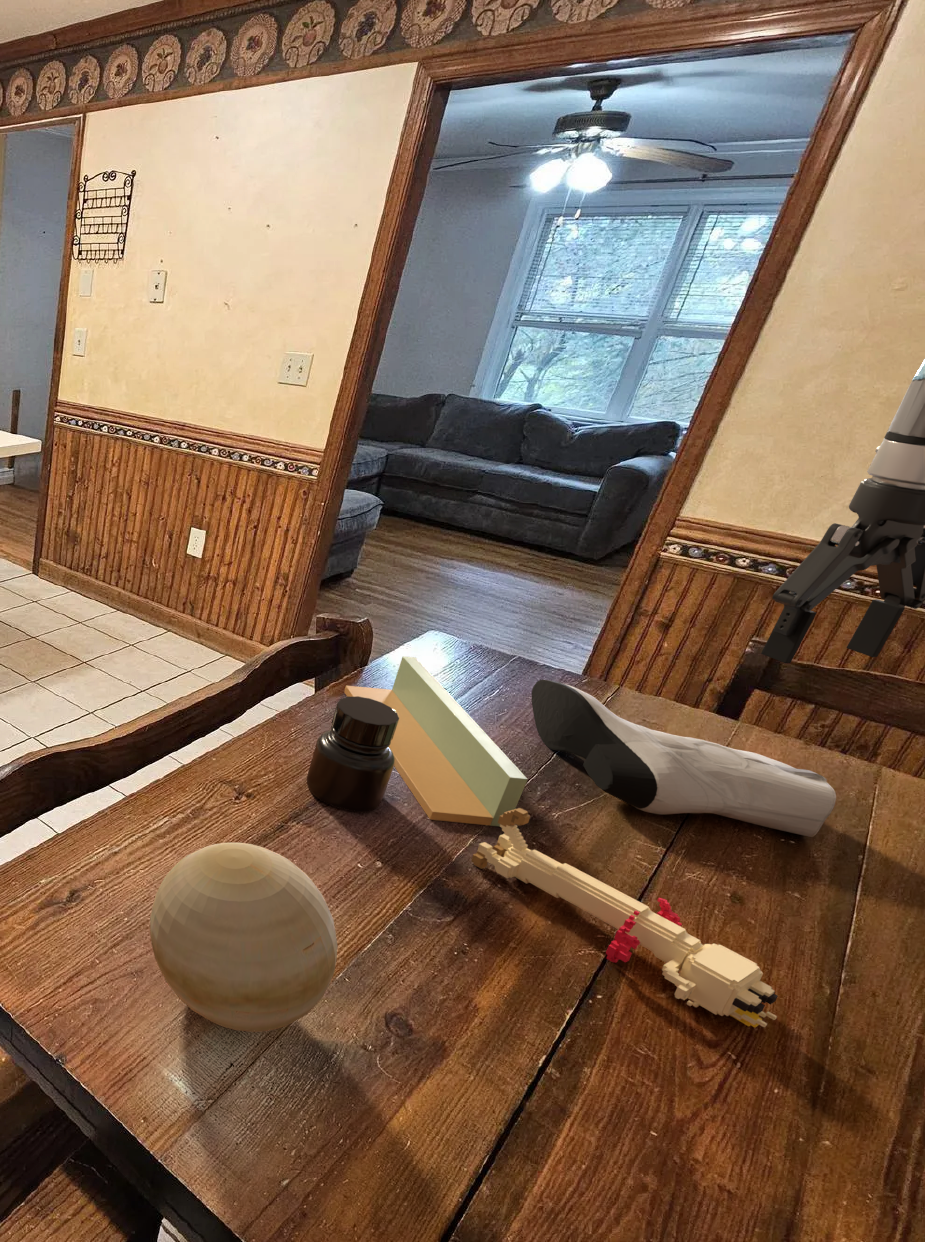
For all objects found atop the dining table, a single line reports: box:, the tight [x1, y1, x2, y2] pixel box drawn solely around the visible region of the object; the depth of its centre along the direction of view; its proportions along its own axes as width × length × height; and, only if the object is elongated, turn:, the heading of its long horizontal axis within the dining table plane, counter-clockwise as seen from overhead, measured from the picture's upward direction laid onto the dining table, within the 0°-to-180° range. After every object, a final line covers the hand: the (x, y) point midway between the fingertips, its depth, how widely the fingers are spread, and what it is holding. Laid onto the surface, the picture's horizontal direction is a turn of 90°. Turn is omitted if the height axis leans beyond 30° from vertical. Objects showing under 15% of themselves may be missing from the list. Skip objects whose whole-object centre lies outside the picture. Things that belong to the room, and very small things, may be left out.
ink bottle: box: [306, 696, 399, 813], centre depth 97 cm, size 10×9×12 cm
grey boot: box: [531, 678, 837, 838], centre depth 105 cm, size 10×28×25 cm
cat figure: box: [470, 807, 779, 1029], centre depth 78 cm, size 10×9×25 cm
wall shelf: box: [343, 656, 529, 827], centre depth 108 cm, size 9×32×7 cm, turn 174°
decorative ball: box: [149, 841, 338, 1033], centre depth 67 cm, size 15×15×15 cm
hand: (818, 655), depth 96 cm, fingers open, 13 cm apart
